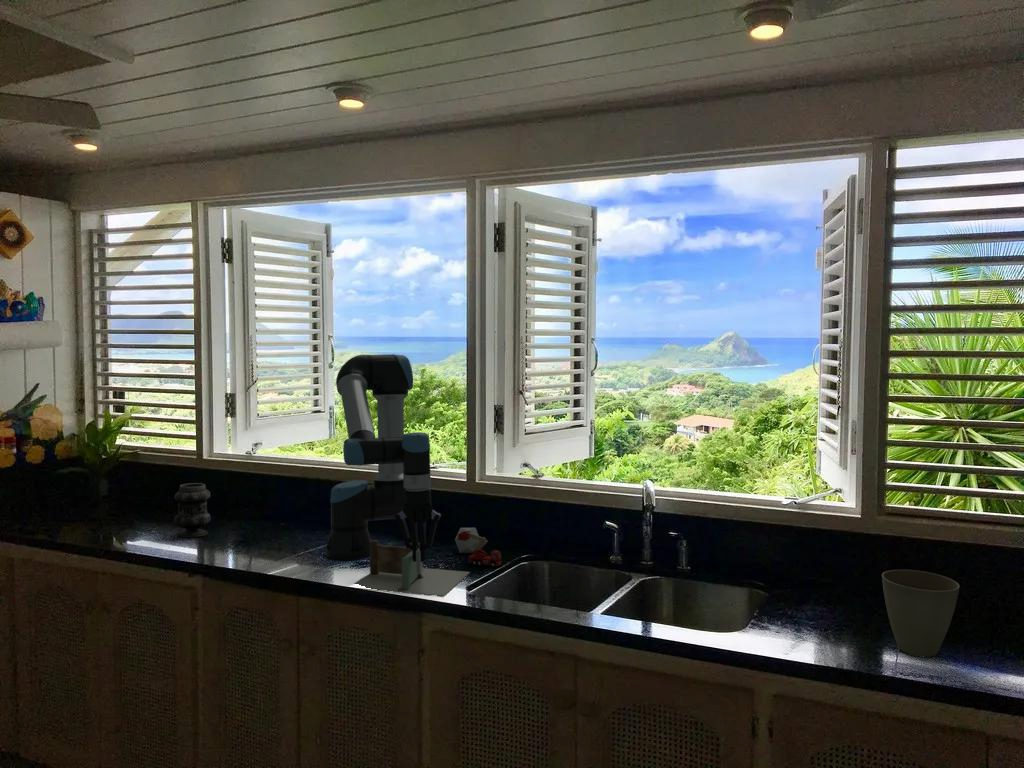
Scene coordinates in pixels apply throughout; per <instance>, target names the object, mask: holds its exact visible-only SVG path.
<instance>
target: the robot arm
mask: <svg viewBox="0 0 1024 768" xmlns="http://www.w3.org/2000/svg"><path fill="white" fill-rule="evenodd" d="M335 383H336V390H337V393H338V395H340V396H341V400H342V407H343V413H344V419H345V425H346V431H347V436H348V439H347V438H346V439H345V440H344V441H343V447H342V450H343V461H344V464H346V466H358V467H359V466H360V467H361V466H370V465H371V466H373V465H374V466H375V465H377V467H378V468H377V475H375V476H374V477H373V484H369V483H368V481H367V480H365V479H359V480H358V479H356V480H349V481H344V482H341V483H338V484H336V485H334V486H333V487H332V488H331V491H330V499H329V500H330V501H329V503H330V533H329V536H328V539H327V543H326V546H325V557H326V558H328V559H331V560H336V561H338V560H339V561H352V560H362V559H365V558H367V557H370V541H371V540H372V538H371V536H370V535H371V534H370V533H369V530H368V529H369V527H368V522H369V521H370V522H371V521H382V520H383V521H384V520H396V521H397V523H398V525H399V529H400V531H401V535H402V539H403V543H404V547H406V548H410V549H412V551H413V562H416V569H417V574H421V573H422V572H423V568H424V562H425V561H426V560H427V549H430V548H431V547H433V544H434V539H435V534H436V530H437V525H438V523H439V520H440V519H441V517H442V514H441V512H437V511H436V510H435V509H434V507H433V505H432V489H431V487H432V483H431V482H432V481H431V480H432V479H431V453H430V452H431V443H430V436H429V434H428V432H422V431H421V432H408V433H407V432H406V433H405V420H404V419H405V415H404V413H405V412H404V411H405V410H404V409H405V407H404V403H405V402H404V401H405V399H406V398H407V397H408V396H409V391H411V390H413V389H414V388H413V387H414V374H413V369H412V364H411V361H410V359H409V358H408V357H407V356H406V355H405V354H402V355H401V354H358V355H356V356H353V357H351V358H350V359H348V360H347V361H345V363H344V364H343V365H342V366H341V367H340V369H339V371H338V373H337V376H336V380H335ZM367 391H372V397H373V398H374V399H375V400H376V401H377V404H376V405H377V407H376V408H377V410H376V411H377V437H376V434H375V428H374V423H373V419H372V414H371V410H370V405H369V402H368V401H369V400H368V396H367ZM430 516H431V520H432V521H431V523H430V528H429V531H428V535H427V520H428V519H429V518H430ZM406 518H407V519H408V521H409V526H410V531H409V528H408V525H407V521H406ZM418 526H419V529H418ZM418 530H419V531H418ZM410 533H411V534H410ZM418 543H420V549H418V547H419V546H418Z"/></svg>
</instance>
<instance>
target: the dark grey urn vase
mask: <svg viewBox="0 0 1024 768" xmlns="http://www.w3.org/2000/svg"><path fill="white" fill-rule="evenodd" d="M210 498H211V492H210V491H209V490H208V489H207V487H206V484H205V483H202V482H200V483H199V482H193V483H192V482H190V483H189V482H188V483H183V484H180V485H179V489H178V491H177V492H176V493H175V494H174V500H175V501H176V502H177V503H178V505H177V506H178V507H177V508H178V509H177V514H176V515H175V517H174V519H173V522H174V524H175V525H176V526H178V527H179V528H183V529H185V530H183V531H182V532H179V533H178V534H177V537H179V538H182V539H183V538H184V539H192V538H199V537H203V536H206V535H208V534H209V533H208V530H205V529H202V528H201V527H203V526H206V525H207V524H208V523H210V522H211V514H210V513H209V512H208V500H209V499H210Z"/></svg>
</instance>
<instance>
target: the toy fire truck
mask: <svg viewBox="0 0 1024 768" xmlns="http://www.w3.org/2000/svg"><path fill="white" fill-rule="evenodd" d="M457 534H458V533H457ZM470 537H471V538H474V539H477V540H479V543H478V545H477V546H476V548H475V549H474V553H473V554H470V555H469V556H468V563H469V564H473V565H474V566H475V565H478V566H481V565H485V566H486V565H487V566H491V567H493V568H494V567H498V566H501V565H502V554H501V552H500V551H499V550H496V549H494V550H492V551H490V555H487V552H485V551H484V550H482V548H483V547H485V545H486V544H487V543H488V542H489V541H488V540H487V538H485V536H483V537H482V536H480V535H479V536H477V535H474V534H472V533H471V532H470V531H465V532H461V533H460V534H458V540H463V541H466V540H468V539H470Z"/></svg>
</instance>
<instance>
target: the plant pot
mask: <svg viewBox="0 0 1024 768" xmlns="http://www.w3.org/2000/svg"><path fill="white" fill-rule="evenodd" d="M881 579H882V580H881V582H882V587H883V589H882V591H883V594H884V595H883V596H884V602H885V606H886V607H885V608H886V611H887V616H888V620H889V624H890V627H891V630H892V633H893V637H894V639H895V643H896V644H897V647H898V649H899V651H901V650H902V651H901V652H903V653H904V652H906V653H905V654H907V653H908V654H907V655H909V654H911V655H910V656H913V655H917V656H924V657H923V658H932V657H931V656H933V657H935V656H936V655H937V654H938V652H939V651H940V649H941V646H942V644H943V642H944V640H945V637H946V635H947V632H948V630H949V628H950V625H951V622H952V620H953V615H954V612H955V609H956V605H957V601H958V597H959V591H960V587H961V586H960V583H958V582H957V581H955V580H953V579H952V578H949V577H948V576H944V575H942V574H937V573H934V572H928V571H923V570H915V569H892V570H886V571H883V572H882V574H881ZM917 656H916V657H917Z"/></svg>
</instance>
